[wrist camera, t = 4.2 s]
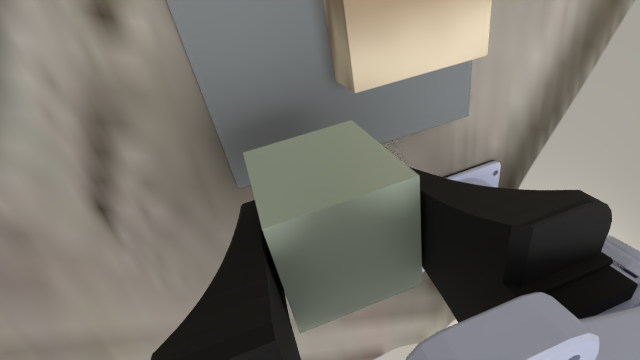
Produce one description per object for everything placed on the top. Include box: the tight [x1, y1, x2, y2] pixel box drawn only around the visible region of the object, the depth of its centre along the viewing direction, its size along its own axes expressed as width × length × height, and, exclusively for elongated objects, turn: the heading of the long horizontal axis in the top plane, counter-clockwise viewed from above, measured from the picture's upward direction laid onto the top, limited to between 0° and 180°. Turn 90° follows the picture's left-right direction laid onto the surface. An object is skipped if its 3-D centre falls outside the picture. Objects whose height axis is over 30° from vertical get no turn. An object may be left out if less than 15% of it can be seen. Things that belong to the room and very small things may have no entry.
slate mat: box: [166, 0, 472, 189], centre depth 19 cm, size 14×17×1 cm
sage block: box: [243, 120, 422, 333], centre depth 12 cm, size 4×4×5 cm
